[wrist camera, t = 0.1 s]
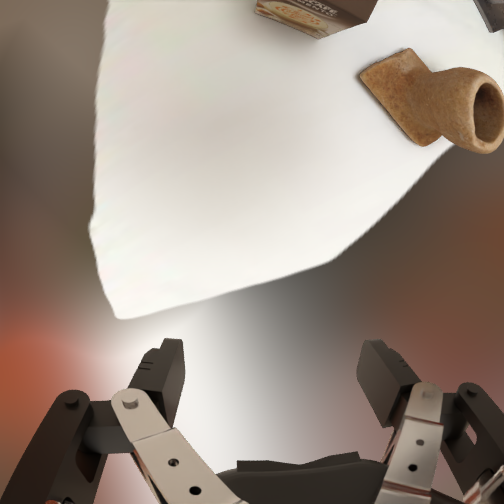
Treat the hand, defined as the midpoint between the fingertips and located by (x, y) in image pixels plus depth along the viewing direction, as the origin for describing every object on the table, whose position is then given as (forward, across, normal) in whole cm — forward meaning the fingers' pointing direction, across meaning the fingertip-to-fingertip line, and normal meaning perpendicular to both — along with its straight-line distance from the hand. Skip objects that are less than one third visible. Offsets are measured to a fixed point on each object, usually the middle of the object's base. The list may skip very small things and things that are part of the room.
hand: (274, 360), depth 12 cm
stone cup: (+25, -22, -23) cm, 40 cm away
